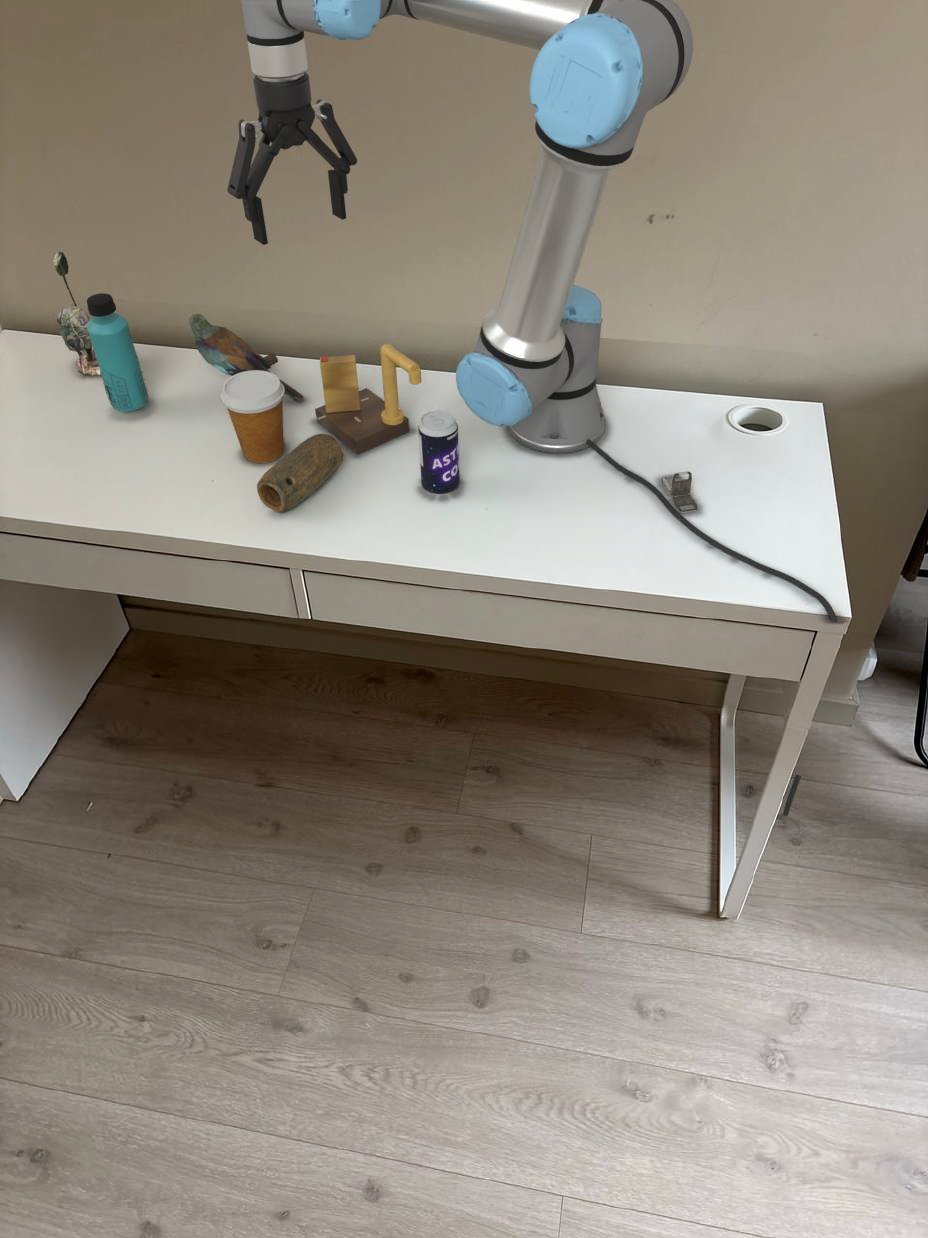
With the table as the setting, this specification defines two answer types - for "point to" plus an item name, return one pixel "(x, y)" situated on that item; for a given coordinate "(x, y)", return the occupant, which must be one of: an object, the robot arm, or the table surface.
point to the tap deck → (361, 424)
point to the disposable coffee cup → (256, 413)
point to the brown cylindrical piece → (300, 472)
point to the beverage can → (439, 452)
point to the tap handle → (340, 383)
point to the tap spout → (395, 382)
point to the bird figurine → (231, 351)
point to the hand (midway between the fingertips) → (301, 228)
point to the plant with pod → (75, 326)
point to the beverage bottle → (115, 354)
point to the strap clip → (680, 491)
